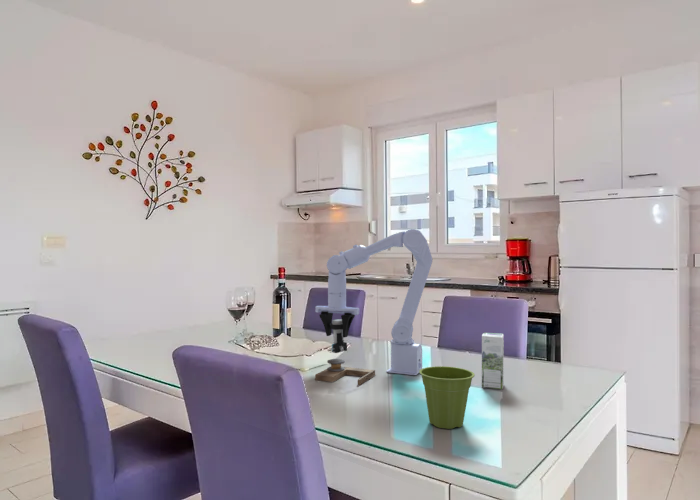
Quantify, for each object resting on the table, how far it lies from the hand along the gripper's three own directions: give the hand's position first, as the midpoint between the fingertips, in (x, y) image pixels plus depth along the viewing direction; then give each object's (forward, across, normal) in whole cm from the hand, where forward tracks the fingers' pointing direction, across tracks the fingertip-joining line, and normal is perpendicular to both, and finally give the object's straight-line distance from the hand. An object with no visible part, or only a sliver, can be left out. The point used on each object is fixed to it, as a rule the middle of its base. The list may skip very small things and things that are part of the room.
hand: (336, 336), depth 157 cm
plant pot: (+10, +43, -34) cm, 56 cm away
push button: (+5, 0, +1) cm, 5 cm away
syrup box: (+10, +48, 0) cm, 49 cm away
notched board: (+10, +7, -8) cm, 15 cm away
